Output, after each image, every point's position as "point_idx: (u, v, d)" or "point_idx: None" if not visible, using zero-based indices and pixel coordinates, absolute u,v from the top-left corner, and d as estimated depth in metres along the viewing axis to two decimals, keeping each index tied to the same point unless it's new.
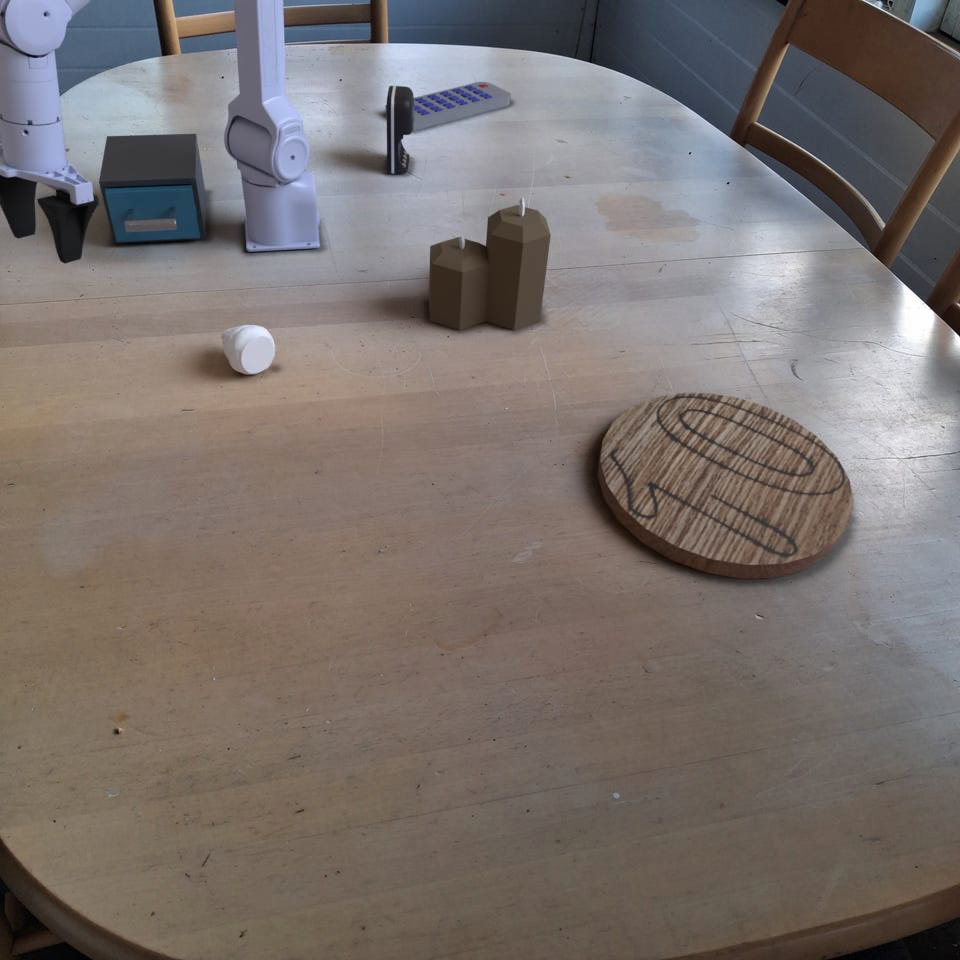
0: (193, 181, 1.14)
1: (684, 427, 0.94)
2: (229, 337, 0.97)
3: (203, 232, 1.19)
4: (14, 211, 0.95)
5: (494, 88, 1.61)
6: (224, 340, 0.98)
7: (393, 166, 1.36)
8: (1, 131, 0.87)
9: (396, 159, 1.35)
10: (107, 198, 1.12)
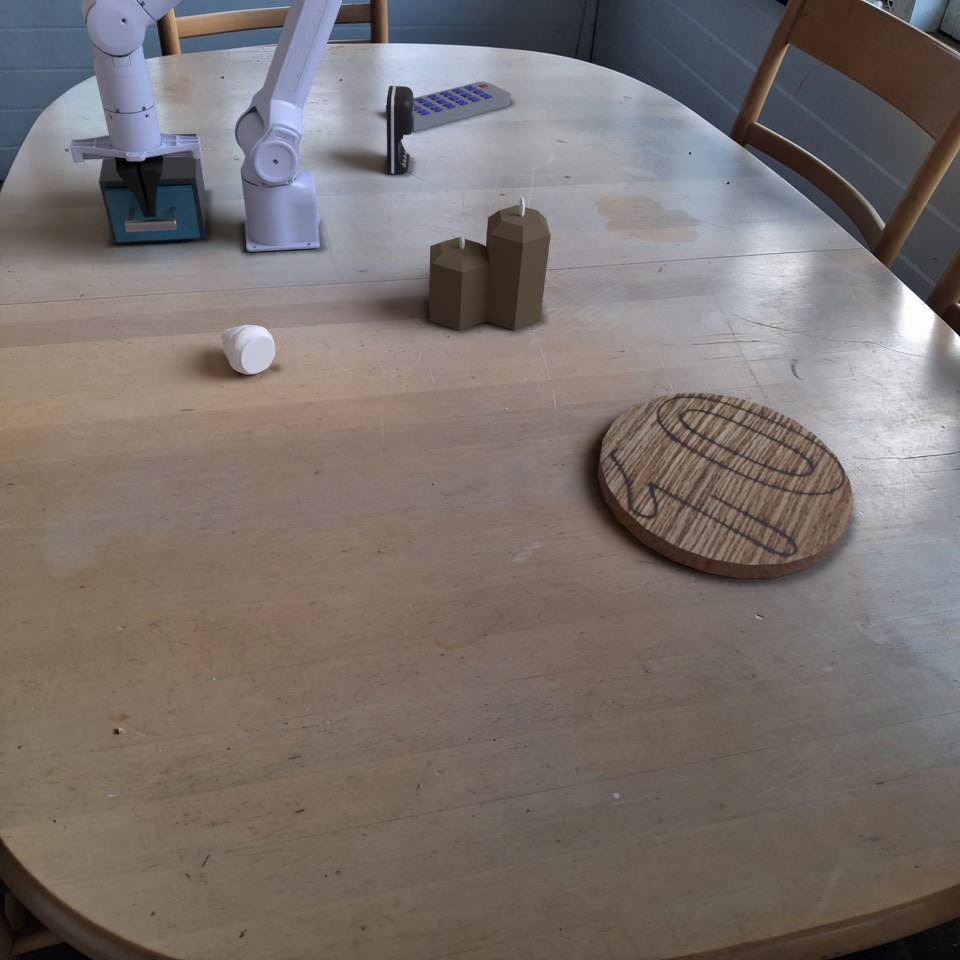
0: (193, 181, 1.14)
1: (684, 427, 0.94)
2: (229, 337, 0.97)
3: (203, 232, 1.19)
4: (144, 194, 1.10)
5: (494, 88, 1.61)
6: (224, 340, 0.98)
7: (393, 166, 1.36)
8: (122, 124, 1.03)
9: (396, 159, 1.35)
10: (107, 198, 1.12)
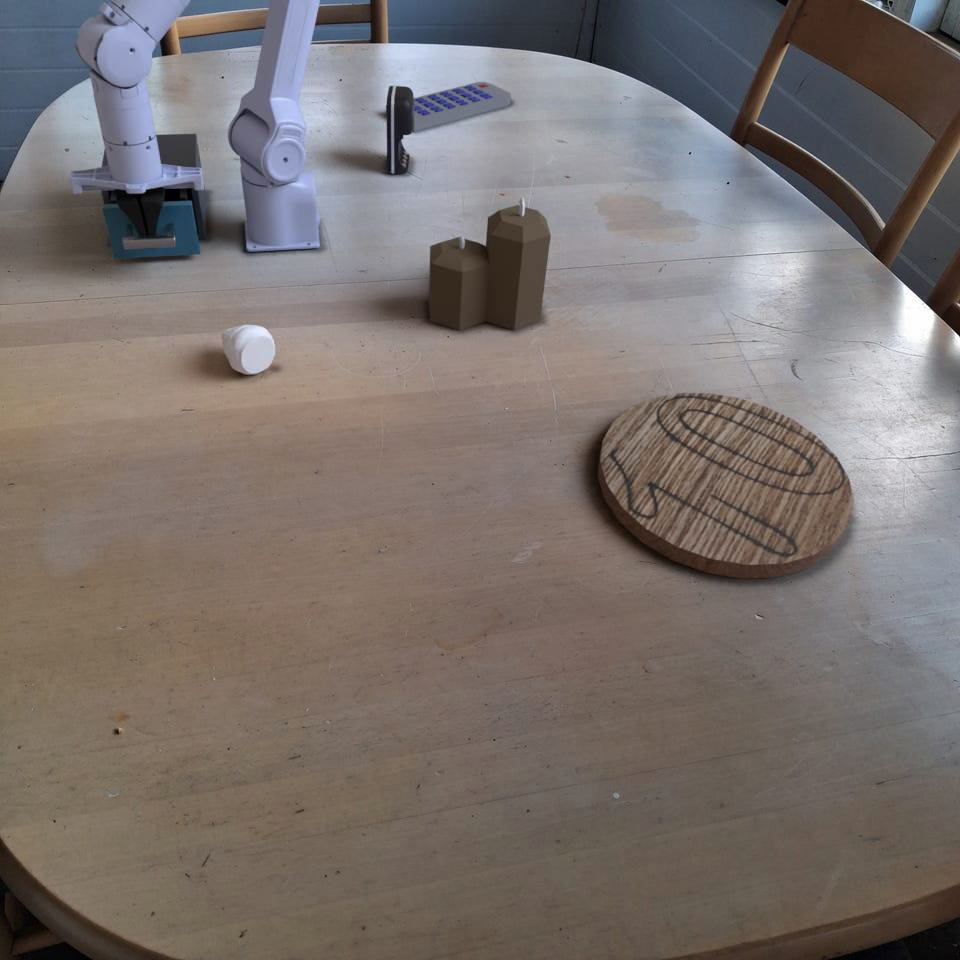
0: None
1: (684, 427, 0.94)
2: (229, 337, 0.97)
3: (203, 232, 1.19)
4: (144, 225, 1.08)
5: (494, 88, 1.61)
6: (224, 340, 0.98)
7: (393, 166, 1.36)
8: (123, 156, 1.01)
9: (396, 159, 1.35)
10: (104, 214, 1.09)
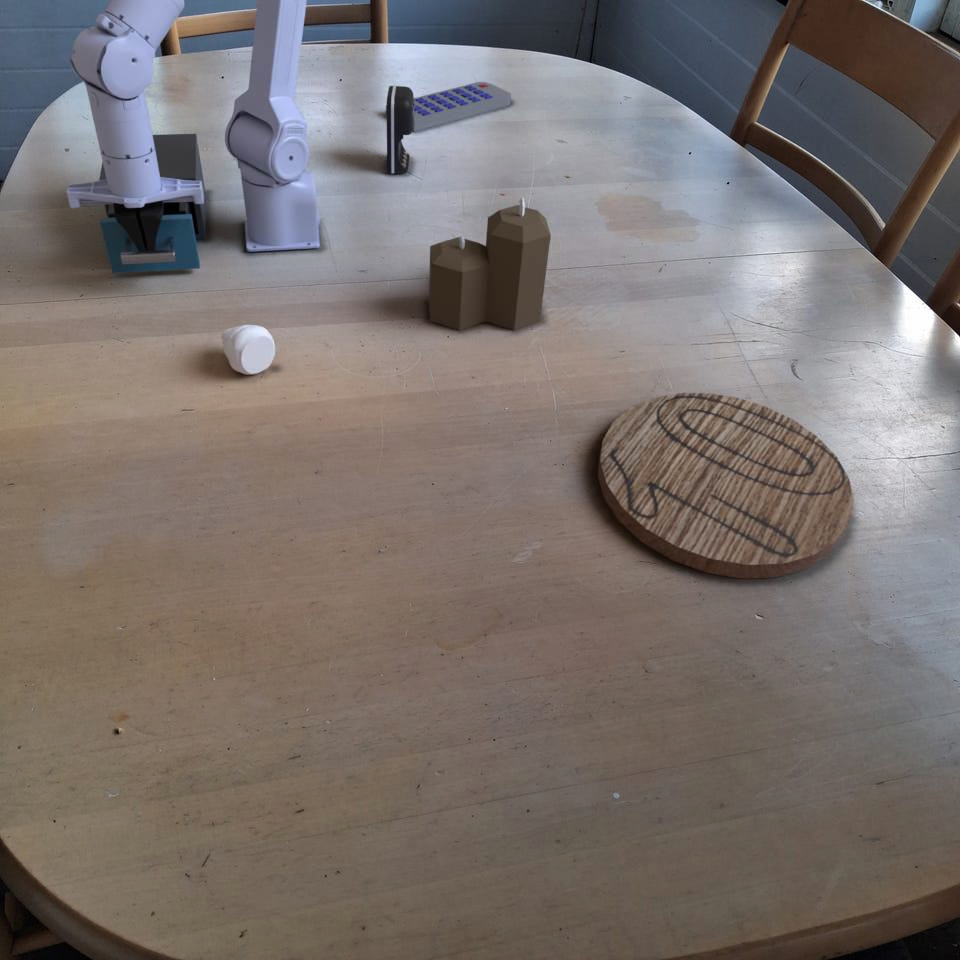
0: None
1: (684, 427, 0.94)
2: (229, 337, 0.97)
3: (203, 232, 1.19)
4: (143, 240, 1.06)
5: (494, 88, 1.61)
6: (224, 340, 0.98)
7: (393, 166, 1.36)
8: (121, 170, 0.98)
9: (396, 159, 1.35)
10: (102, 228, 1.07)
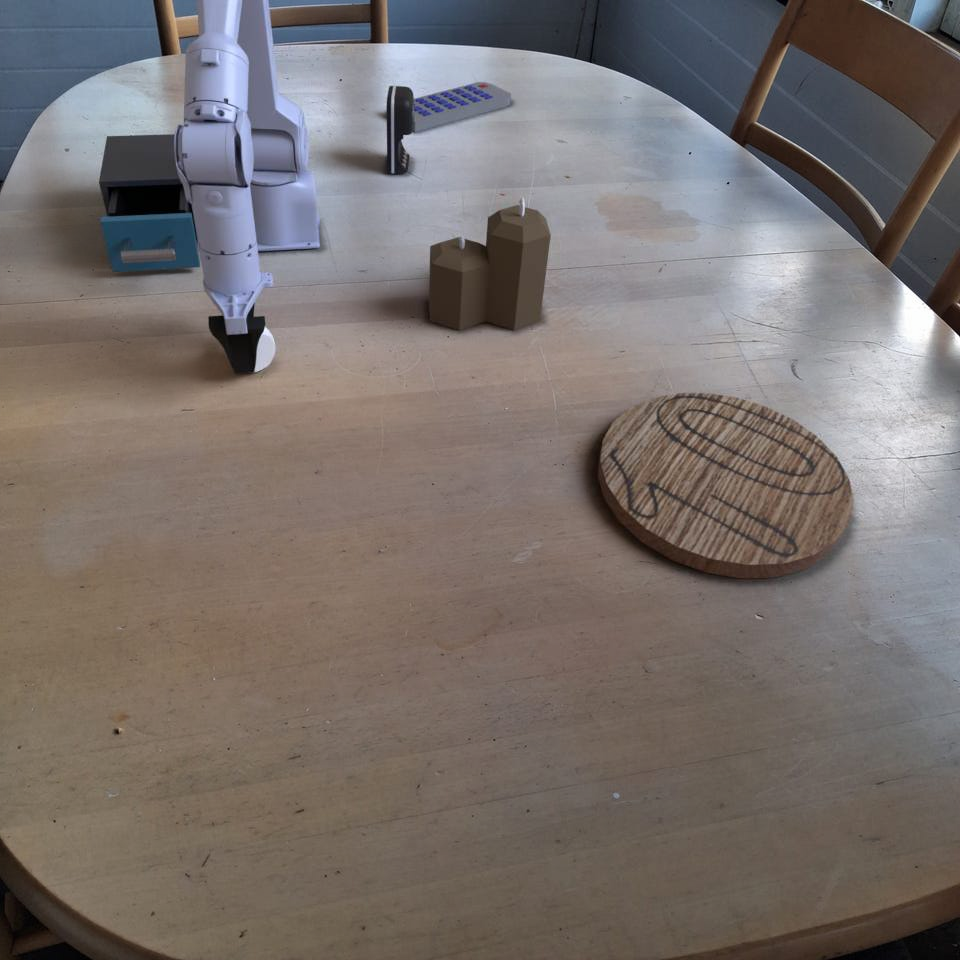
0: None
1: (684, 427, 0.94)
2: None
3: None
4: None
5: (494, 88, 1.61)
6: None
7: (393, 166, 1.36)
8: (257, 254, 0.92)
9: (396, 159, 1.35)
10: (102, 227, 1.07)
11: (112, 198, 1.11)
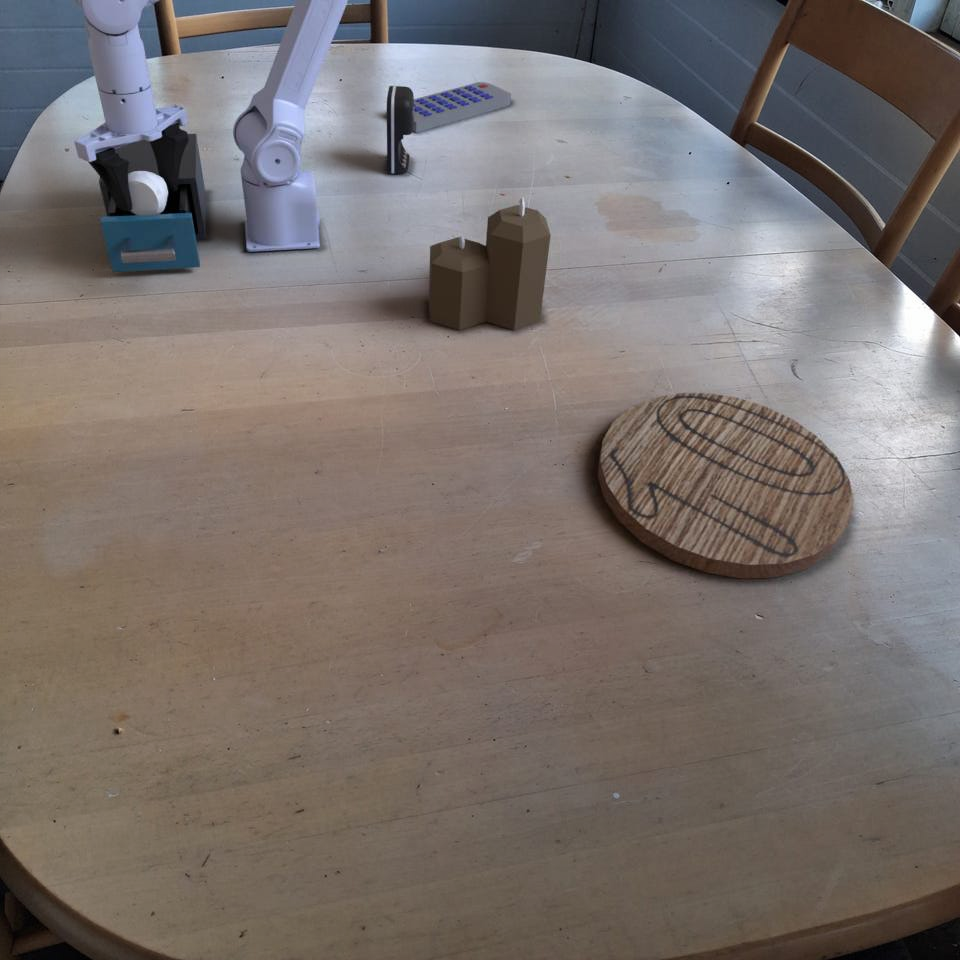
0: (193, 181, 1.14)
1: (684, 427, 0.94)
2: None
3: (203, 232, 1.19)
4: None
5: (494, 88, 1.61)
6: None
7: (393, 166, 1.36)
8: (137, 104, 1.01)
9: (396, 159, 1.35)
10: (102, 227, 1.07)
11: (112, 198, 1.11)
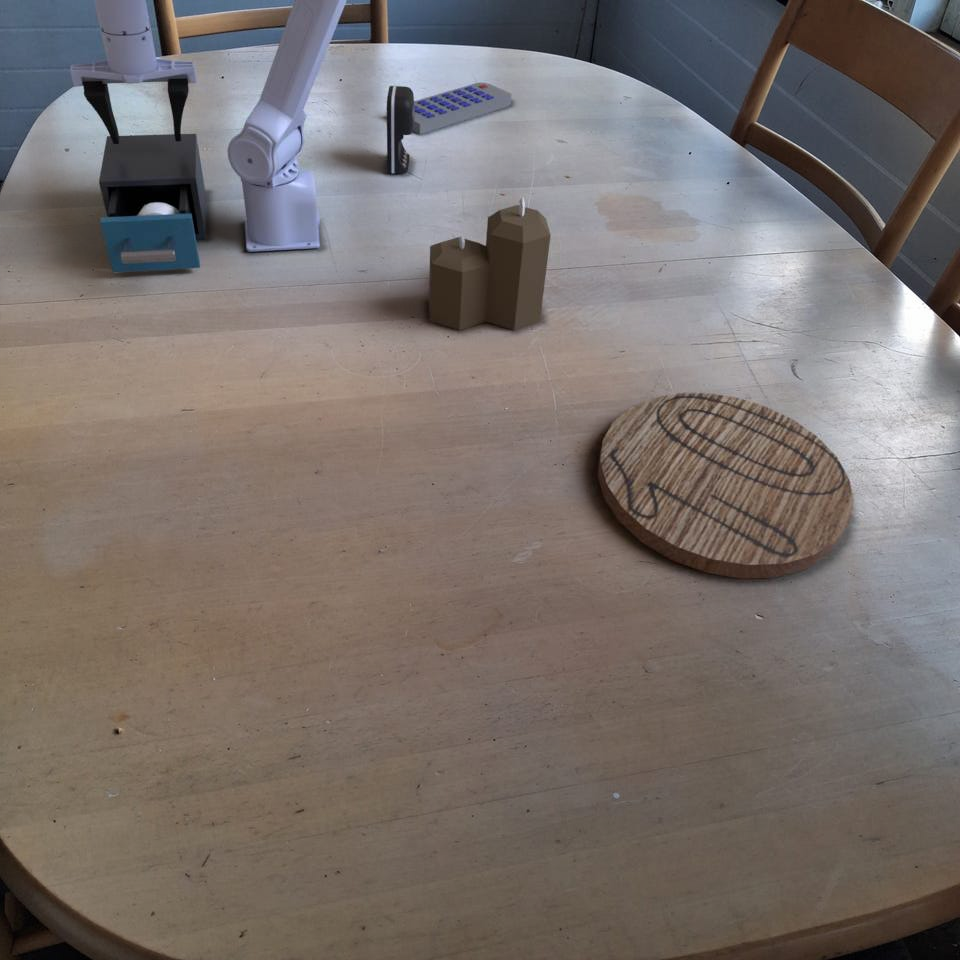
0: (193, 181, 1.14)
1: (684, 427, 0.94)
2: None
3: (203, 232, 1.19)
4: (112, 120, 1.14)
5: (494, 88, 1.61)
6: None
7: (393, 166, 1.36)
8: (120, 46, 1.07)
9: (396, 159, 1.35)
10: (102, 227, 1.07)
11: (112, 198, 1.11)
